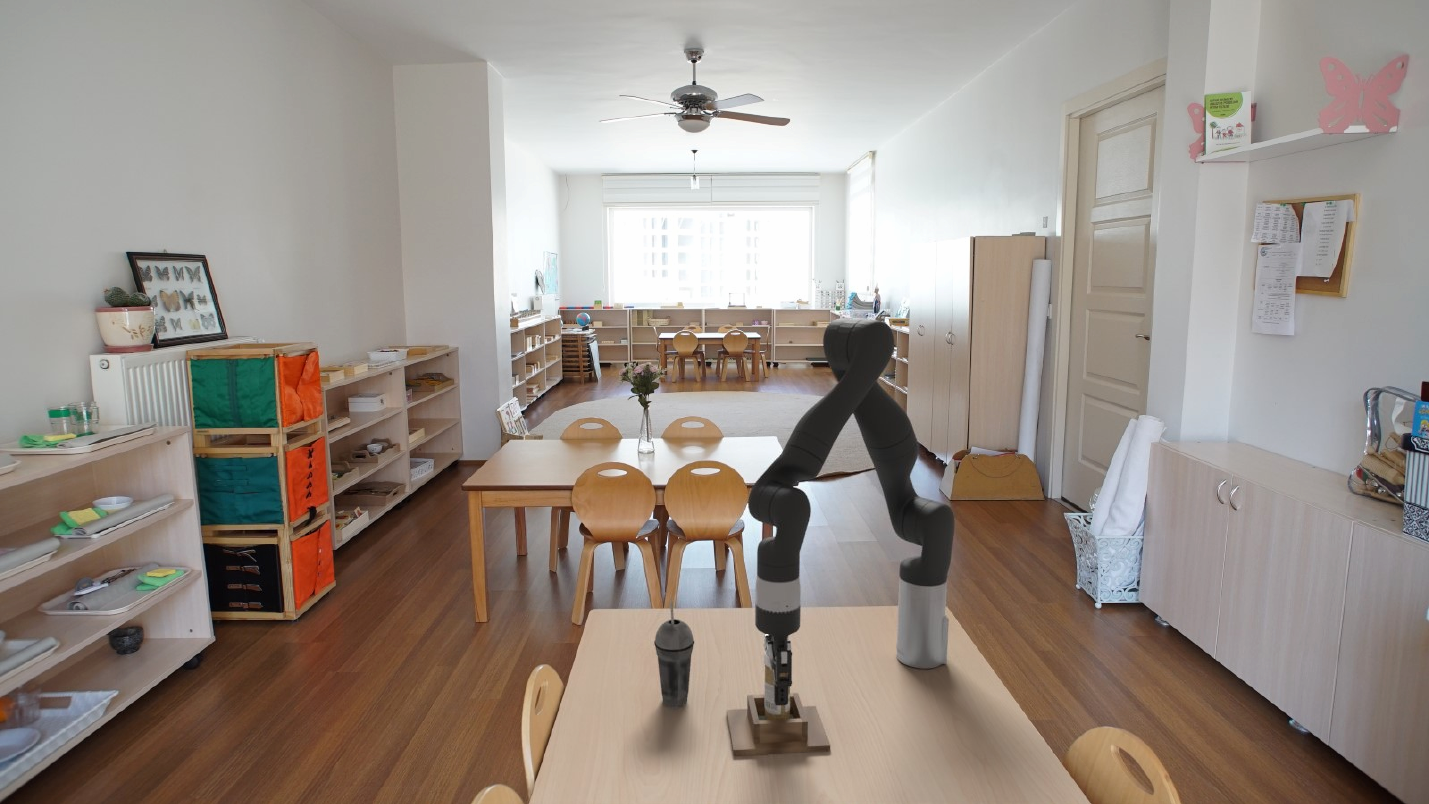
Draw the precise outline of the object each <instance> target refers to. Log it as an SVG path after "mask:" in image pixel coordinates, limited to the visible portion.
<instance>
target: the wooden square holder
mask: <svg viewBox="0 0 1429 804" xmlns="http://www.w3.org/2000/svg"><path fill="white" fill-rule="evenodd" d="M764 696H765V694H747V697H746V698H747V699H746V708H743V709H742V708H739V709H737V708H736V709H726V719H727V724H728V730H729V736H730V743H731V747H732V748H731V749H732V755H733V757H735V756H737V757H738V756H751V755H753V756H755V755H771V754H772V755H774V754H775V755H776V754H793V753H811V752H812V753H815V752H830V751H831V743H830V741H829V738H828V735H827V732H826V730H825V727H824V725H823V721H822V718H821V717H820V714H819V711H818V709H817V706H816V705H807V706H806V705H805V706H803V702H802V700H801V698H800V694H799V693H798V692H795V693H794V692H792V693H791V692H790V719H780V720H765V705H764Z"/></svg>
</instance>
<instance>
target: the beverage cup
mask: <svg viewBox="0 0 1429 804" xmlns="http://www.w3.org/2000/svg"><path fill="white" fill-rule="evenodd" d="M673 602H674V601H673V600H672V599H670V600H669V605H670V606H669V607H670V609H669V610H670V619H669V620H666V621H665V622H663V623H661V625H660V626H659V628H658V630H657V631H656V634H655V636H654V644H653V645H654V646H655V647H654V648H655V653H656V656H657V661H658V663H657V664H658V672H659V673H658V674H659V682H660V692H661V697H662V704H663V705H665V706H666V707H668V708H680V707H684V706H685V705H686V704H687V703H688V695H689V688H690V686H689V685H690V675H691V666H692V665H691V662H692V655H693V650H694V644H695V640H694V635H693V631H692V629H691V628H690V626H689V625H688V624H687V623H686V622H685V621H682V620H680V619H676V618H675V617H674V616H675V615H674V603H673Z"/></svg>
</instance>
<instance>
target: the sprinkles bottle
mask: <svg viewBox="0 0 1429 804" xmlns="http://www.w3.org/2000/svg"><path fill="white" fill-rule="evenodd" d="M763 662H764V663H763V664H764V695H765V696H764V705H765V720H780V719H790V693H791V686H788V704H787V705H778V706H777V705H775V702H774V682H773V680H774V675H773V671H772V670H771V669H770V663H769V653H768V652H767V650H766V651H765V650H764V653H763ZM773 662H774V663H775V664H776V662H775V661H774V660H773ZM780 677H785V673H781V674H780Z"/></svg>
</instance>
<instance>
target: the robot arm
mask: <svg viewBox="0 0 1429 804" xmlns="http://www.w3.org/2000/svg"><path fill="white" fill-rule="evenodd" d="M823 332H824V333H823V336H822V337H823V339H822V344H823V353H824V356H825V359H826V361H827V363H828V366H829V368H830V369H831V372H832V373H833V376H834V377H835V380H836V381H837V384H835V386H834V387H833V388H832V389H831V390H829V392H828V393H827V394H826V395H824V396H823V397H822V398H821V399H820V400H818V401H817V402H816V403H815V404H814V405H812V406H811V407H810V408H809V410H807V411H806V412H805V413H804V414H803V415H802V417H801V418H800V419H799V420H798V422H797V423H796V425H795V426H794V429H793V430H792V432H791V434H790V436H789V438H788V440H787V442H786V444H785V446H784V448H783V450H782V451H781V453H780V454H779V456H778V457H777V458H776V459H775V460H774V461H773V462H772V463H771V464H770V465H769V466H768V467H767V468H766V469H765V471H764V472H763V473H762V474H761V475H760V477H758V478H757V480H756V481H755V483H754V484H753V485H752V488H751V490H750V492H749V496H748V501H747V504H748V507H747V508H748V513H749V514H750V516H751V517H752V518H753V519H755V520H756V521H758V522H761V523H763V524H766V525H770V526H773V527H775V529H776V532H775V536H768V537H766V538H764V539H762V540H760V542H759V543H758V546H757V551H756V552H757V554H756V580H755V581H756V582H755V590H754V591H755V597H754V598H755V601H754V602H755V603H754V604H755V606H754V607H755V609H754V611H755V613H754V615H755V617H754V620H755V621H754V622H755V623H754V625H755V627H756V629H757V630H758V631H759V632H761V633H762V634H764V637H763V640H764V642H763V647H764V652H765V651H766V650H767V652H768V653H769V663H770V669H771V670H772V671H773V675H774V680H773V682H774V702H775V705H777V706H778V705H787V704H788V686H790V687H792V686H793V678H792V677H793V676H792V675H793V672H792V671H793V670H792V669H793V665H792V664H793V659H792V658H793V657H792V656H793V652H792V642H791V640H789V637H790V635H793V634H795V633H797V632H798V631H799V630H800V628H801V608H802V607H801V606H802V604H801V603H802V600H801V598H802V597H801V595H802V589H801V588H802V587H801V586H802V585H801V578H800V573H801V572H800V565H801V564H800V563H801V562H800V560H801V559H800V558H801V550H802V547H803V543H804V539H805V537H806V536H805V535H806V534H807V533H806V532H807V529H808V526H809V522H810V519H811V513H812V511H811V510H812V509H811V508H812V507H811V502H810V499H809V497H808V495H807V494H806V492H805V491H803V490H802V489H801V488H798V487H795V485H796V484H797V483H798V482H800V481H809V480H814V479H816V478H817V477H818V476H819V474H820V472H821V470H822V468H823V467H824V465H825V462H826V461H827V459H828V457H829V455H830V452H831V450H832V449H833V446H834V445H835V443H836V441H837V439H838V437H839V435H840V434H841V432H842V430H843V429H844V427H845V425H846V424H847V422H848V421H849V419H850V418H851V416H852V415H853V417H854V419H855V421H856V424H857V427H858V428H859V431H860V433H861V436H862V437H861V438H862V440H863V442H864V445H865V448H866V451H867V453H868V455H869V457H870V459H871V461H872V464H873V467H874V470H875V471H876V474H877V478H878V481H879V483H880V486H881V489H882V491H883V496H884V499H885V504H886V507H887V511H888V516H889V519H890V522H891V526H892V528H893V530H894V533H895V534H896V536H898V537H899V538H900V539H902V540H904V541H905V542H908V543H911V544H913V545H917V546H920V547H921V554H920V555H917V556H911V557H907V558H905V559H903V560H902V561H901V562H900V564H899V573H898V575H899V577H898V580H899V581H898V597H897V598H898V600H897V601H898V604H897V605H898V606H897V625H896V626H897V629H896V630H897V631H896V632H897V633H896V654H895V655H896V659H898V661H899V662H901V663H902V664H904V665H906V666H908V667H910V668H915V669H923V670H925V669H935V668H938V667H940V666H941V665H946V664H947V663H948V648H949V647H948V645H949V627H950V626H949V625H950V624H949V623H950V621H949V618H948V617H947V615H946V612H947V611H946V607H947V606H946V605H947V604H946V603H947V587H948V586H947V585H948V584H947V583H948V582H947V581H948V572H949V570H950V567H951V561H952V554H953V552H952V551H953V543H954V536H955V515H954V511H953V509H952V508H951V507H950V505H948V504H946V503H943V502H940V501H936V500H932V499H929V498H925V497H922V496H919V495H918V494H917V492H916V490H915V488H914V485H913V483H912V480H911V475H912V472H913V469H914V467H915V465H916V462H917V459H918V456H919V444H918V439H917V436H916V433H915V431H914V427H913V425H912V422H911V420H910V418H909V416H908V415H907V413H906V411H905V410H904V409H903V407H901V405H900V404H899V403H898V402H897V401H896V400H895V398H893V397H892V396H891V395H890V394H889V393H888V392H887V391H886V390H885V388H884V387H882V386H881V384H880V383H879V382H878V379H880V377H881V376H882V374H883V373H884V371H885V369H886V368H887V366H888V364H889V363H890V361H891V359H892V356H893V353H894V350H895V337H894V336H895V335H894V333H893V330H892V328H891V326H889V325H888V324H887V322H885V321H882V320H877V319H871V318H870V319H869V318H853V317H843V318H837V319H834V320H832V321H831V322H829V323H828V325H827V326H826V328H825V329H824V331H823ZM773 660H774V661H775V662H776V664H775V663H774V662H773ZM781 673H785V677H780V674H781Z"/></svg>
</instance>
